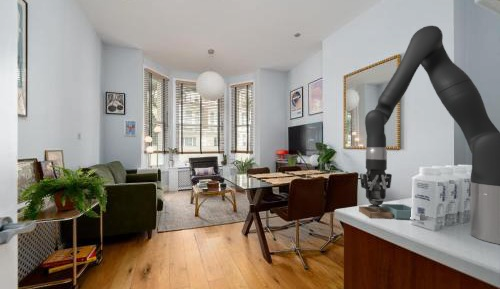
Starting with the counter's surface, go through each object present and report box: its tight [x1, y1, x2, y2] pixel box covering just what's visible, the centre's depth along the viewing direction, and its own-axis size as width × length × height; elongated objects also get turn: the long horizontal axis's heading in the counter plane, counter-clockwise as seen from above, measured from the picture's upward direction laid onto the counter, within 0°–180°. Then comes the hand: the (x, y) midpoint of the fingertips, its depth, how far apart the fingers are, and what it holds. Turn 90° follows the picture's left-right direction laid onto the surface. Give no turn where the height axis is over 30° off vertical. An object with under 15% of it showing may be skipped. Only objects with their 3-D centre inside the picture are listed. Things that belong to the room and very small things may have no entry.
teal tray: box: [380, 203, 412, 221], centre depth 86 cm, size 10×10×4 cm
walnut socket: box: [358, 205, 394, 220], centre depth 86 cm, size 9×9×2 cm
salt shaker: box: [367, 182, 385, 209], centre depth 86 cm, size 6×6×12 cm
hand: (375, 198), depth 86 cm, fingers closed on salt shaker, 6 cm apart
